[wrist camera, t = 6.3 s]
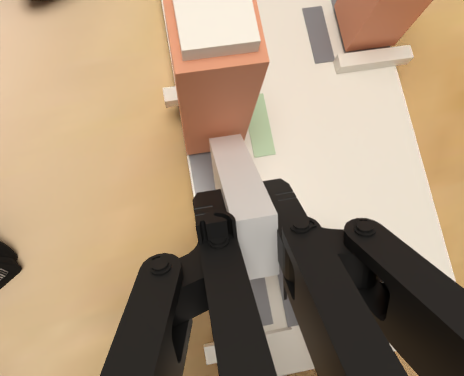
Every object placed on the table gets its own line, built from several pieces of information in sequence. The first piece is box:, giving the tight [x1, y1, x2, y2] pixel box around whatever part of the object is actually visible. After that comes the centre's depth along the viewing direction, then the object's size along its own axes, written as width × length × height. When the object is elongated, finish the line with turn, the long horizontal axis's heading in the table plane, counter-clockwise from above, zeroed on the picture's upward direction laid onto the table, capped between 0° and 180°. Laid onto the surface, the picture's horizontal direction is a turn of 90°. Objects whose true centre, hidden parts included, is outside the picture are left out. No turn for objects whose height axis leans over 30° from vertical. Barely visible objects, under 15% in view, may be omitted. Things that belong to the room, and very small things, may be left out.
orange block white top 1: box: [163, 0, 270, 155], centre depth 17 cm, size 3×3×10 cm
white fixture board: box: [161, 0, 456, 376], centre depth 23 cm, size 14×30×3 cm, turn 10°
